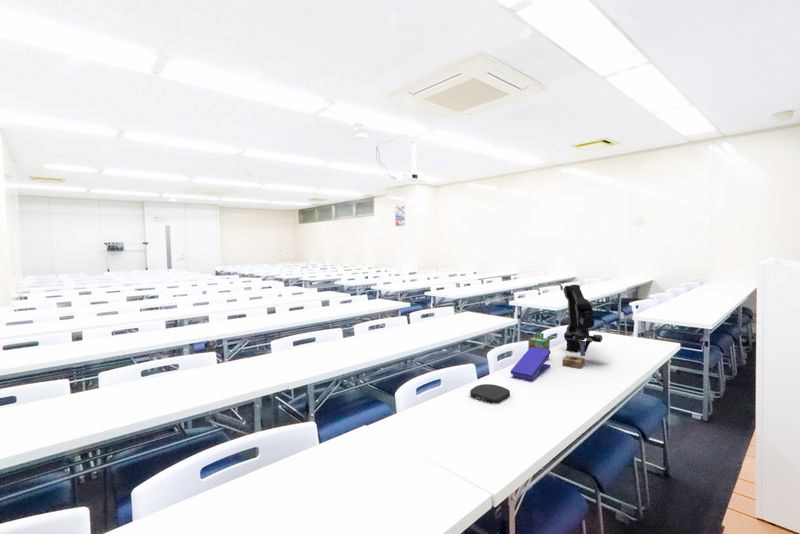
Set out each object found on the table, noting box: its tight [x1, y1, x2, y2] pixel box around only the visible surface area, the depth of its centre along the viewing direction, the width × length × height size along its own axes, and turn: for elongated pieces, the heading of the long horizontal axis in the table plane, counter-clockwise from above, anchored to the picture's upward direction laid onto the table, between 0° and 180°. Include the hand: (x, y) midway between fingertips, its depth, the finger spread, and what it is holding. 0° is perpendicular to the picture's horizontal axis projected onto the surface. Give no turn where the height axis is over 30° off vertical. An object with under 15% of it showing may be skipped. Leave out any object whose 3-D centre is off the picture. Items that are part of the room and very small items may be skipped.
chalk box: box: [527, 332, 551, 360], centre depth 221 cm, size 9×9×15 cm
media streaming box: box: [469, 383, 511, 404], centre depth 171 cm, size 15×15×3 cm
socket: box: [561, 354, 586, 370], centre depth 209 cm, size 9×9×4 cm
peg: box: [579, 340, 586, 357], centre depth 216 cm, size 2×2×8 cm
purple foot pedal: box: [510, 347, 551, 383], centre depth 200 cm, size 12×28×10 cm, turn 142°
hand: (582, 351), depth 216 cm, fingers closed on peg, 2 cm apart
